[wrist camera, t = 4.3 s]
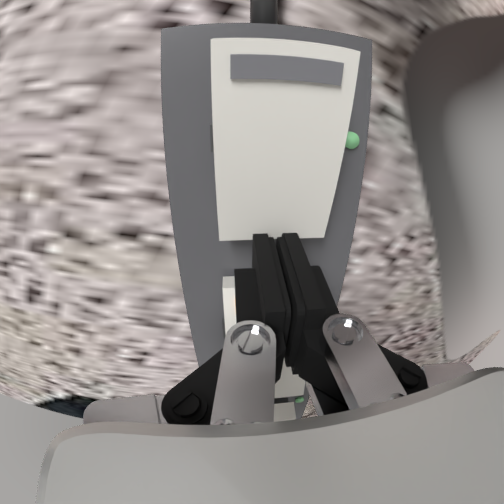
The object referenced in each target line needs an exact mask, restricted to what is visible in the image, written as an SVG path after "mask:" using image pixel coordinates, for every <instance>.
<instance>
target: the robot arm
mask: <svg viewBox="0 0 504 504" xmlns="http://www.w3.org/2000/svg"><path fill="white" fill-rule="evenodd" d="M234 278H235V303H236V324H235V325H233V326H232V327H231V328H230V329H229V330H228V331H227V334H226V336H225V341H224V346H223V348H222V349H221V350H220V351H219V352H217V353H216V354H215V355H214V356H213V357H211V358H210V359H209V360H208V361H206V362H205V363H204V364H203V365H201V366H200V367H199V368H198V369H196V370H195V371H194V372H193V373H191V374H190V375H189V376H187V377H186V378H185V379H184V380H182V381H181V382H180V383H178V384H177V385H176V386H175V387H173V388H172V389H171V390H170V391H169V392H168V393H167V394H166V395H160V396H155V395H154V394H149V395H142V396H134V397H126V398H116V399H106V400H98V401H94V402H92V403H91V404H90V405H88V406H87V408H86V410H85V411H84V416H83V425H79V426H75V427H72V428H69V429H67V430H64V431H62V432H61V433H59V434H58V435H56V436H55V437H54V439H53V440H52V441H51V443H50V444H49V446H48V449H47V451H46V453H45V456H44V459H43V463H42V466H41V471H40V475H39V481H38V487H37V495H36V504H504V368H502V367H493V368H485V369H481V370H477V371H474V370H473V368H472V367H471V366H470V365H468V364H466V363H462V362H459V363H445V364H424V365H423V366H422V367H419V366H418V365H416V364H415V363H413V362H411V361H409V360H407V359H405V358H403V357H401V356H399V355H397V354H395V353H394V352H392V351H390V350H388V349H386V348H384V347H382V346H380V345H378V344H377V343H376V341H375V340H374V338H373V337H372V335H371V333H370V332H369V330H368V329H367V327H366V326H365V324H364V323H363V322H362V321H361V320H360V319H358V318H357V317H355V316H352V315H350V314H343V313H342V314H340V313H339V311H338V308H337V306H336V303H335V301H334V299H333V296H332V294H331V291H330V289H329V286H328V284H327V282H326V279H325V277H324V274H323V272H322V270H321V268H320V266H318V265H316V266H310V263H309V261H308V258H307V256H306V253H305V251H304V248H303V246H302V243H301V241H300V238H299V236H298V234H297V233H282V237H277V240H276V245H275V241H274V238H273V237H268V234H267V233H263V234H253V240H252V268H242V269H234ZM284 359H285V364H286V367H291V369H292V374H293V375H296V374H298V375H299V377H300V378H302V379H303V380H305V381H306V387H307V390H308V392H309V395H310V397H311V400H312V402H313V405H314V407H315V410H316V412H317V415H318V416H316V417H310V418H303V419H295V420H287V421H278V422H274V399H275V384H276V383H277V382H278V380H279V379H280V377H281V372H282V367H283V361H284Z"/></svg>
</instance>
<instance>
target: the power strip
mask: <svg viewBox="0 0 504 504" xmlns="http://www.w3.org/2000/svg"><path fill="white" fill-rule="evenodd" d="M213 38H272V39H286V40H297V41H306V42H314V43H321V44H328V45H334V46H339V47H345V48H349V49H353V50H357V51H360V60H359V67H358V74H357V81H356V88H355V94H354V100H353V106H352V112H351V118H350V123H349V128H348V134H347V139H346V144H345V149H344V154H343V159H342V163H341V168H340V173H339V177H338V182H337V186H336V191H335V195H334V199H333V203H332V207H331V211H330V216H329V220H328V224H327V227H326V231H325V235H324V238H300V241H301V243H302V246H303V248H304V251H305V253H306V256H307V258H308V261H309V263H310V266H316V265H318V266H320V268H321V270H322V272H323V274H324V277H325V279H326V282H327V284H328V286H329V289H330V291H331V294H332V296H333V299H334V301H335V303H336V306H337V304H338V300H339V297H340V293H341V288H342V284H343V280H344V276H345V271H346V267H347V262H348V258H349V253H350V248H351V243H352V238H353V233H354V228H355V222H356V217H357V211H358V205H359V199H360V192H361V186H362V179H363V172H364V164H365V156H366V147H367V137H368V126H369V114H370V99H371V78H372V40H371V39H367V38H363V37H358V36H354V35H349V34H345V33H340V32H334V31H329V30H323V29H316V28H309V27H301V26H292V25H280V24H277V0H251V6H250V23H216V24H200V25H189V26H179V27H171V28H164V29H161V93H162V116H163V133H164V147H165V159H166V171H167V181H168V190H169V199H170V208H171V216H172V223H173V231H174V238H175V245H176V251H177V258H178V264H179V270H180V276H181V282H182V288H183V293H184V298H185V304H186V309H187V314H188V319H189V324H190V329H191V334H192V338H193V343H194V347H195V352H196V356H197V360H198V365H199V367H200V366H201V365H203V364H204V363H205V362H206V361H208V360H209V359H210V358H211V357H213V356H214V355H215V354H216V353H217V352H219V351H220V350H221V349H222V348H223V346H224V341H225V336H226V333H225V320H224V305H223V290H222V286H223V277H226V276H234V269H242V268H252V240H231V241H219V229H218V215H217V200H216V183H215V165H214V145H213V122H212V91H211V39H213ZM276 240H277V239H274V241H275V245H276ZM309 396H310V395H309V392H308V390H307V387H306V381H305V388H304V394H303V395H299V396H291V397H282V398H275V399H274V404H279V403H288V402H294V406H295V414H296V419H301V418H302V415H303V413H304V410H305V407H306V404H307V402H308V399H309Z"/></svg>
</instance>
